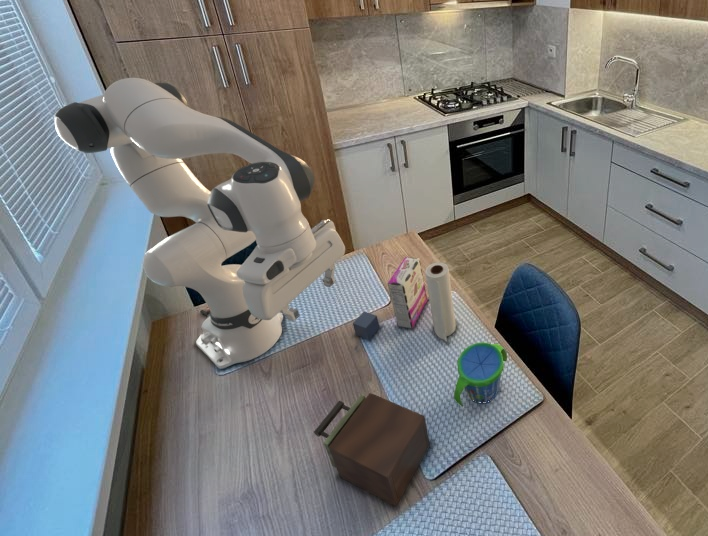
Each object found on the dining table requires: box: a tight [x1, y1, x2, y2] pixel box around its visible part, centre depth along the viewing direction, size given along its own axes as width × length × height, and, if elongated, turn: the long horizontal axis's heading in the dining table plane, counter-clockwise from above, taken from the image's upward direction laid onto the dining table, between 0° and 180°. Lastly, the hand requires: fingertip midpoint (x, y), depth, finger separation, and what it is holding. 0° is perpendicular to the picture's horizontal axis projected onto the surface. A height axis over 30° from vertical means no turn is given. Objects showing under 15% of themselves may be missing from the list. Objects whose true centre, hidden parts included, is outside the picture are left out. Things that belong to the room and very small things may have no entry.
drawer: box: [313, 394, 367, 469], centre depth 83 cm, size 18×11×8 cm, turn 68°
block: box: [352, 310, 380, 341], centre depth 112 cm, size 5×5×5 cm
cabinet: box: [329, 392, 431, 508], centre depth 81 cm, size 14×12×10 cm
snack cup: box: [453, 342, 508, 407], centre depth 94 cm, size 16×10×10 cm
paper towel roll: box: [424, 261, 457, 343], centre depth 108 cm, size 7×6×21 cm
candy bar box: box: [387, 256, 428, 329], centre depth 115 cm, size 11×5×16 cm, turn 168°
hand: (313, 300), depth 81 cm, fingers open, 8 cm apart
